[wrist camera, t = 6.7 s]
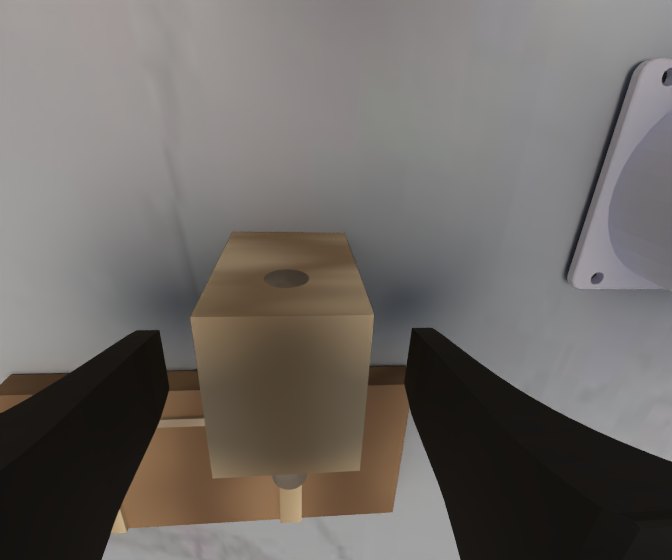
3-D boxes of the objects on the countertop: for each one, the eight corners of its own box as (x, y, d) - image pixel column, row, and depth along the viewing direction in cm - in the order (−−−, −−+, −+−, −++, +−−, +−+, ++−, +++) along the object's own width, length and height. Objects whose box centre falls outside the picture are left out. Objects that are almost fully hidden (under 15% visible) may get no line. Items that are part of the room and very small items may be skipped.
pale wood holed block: (344, 232, 14) (374, 314, 9) (336, 393, 17) (354, 527, 12) (232, 231, 14) (190, 317, 8) (245, 396, 17) (220, 537, 11)
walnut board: (405, 366, 17) (414, 387, 15) (387, 489, 20) (393, 515, 19) (10, 374, 15) (-16, 399, 14) (62, 507, 18) (45, 537, 17)
